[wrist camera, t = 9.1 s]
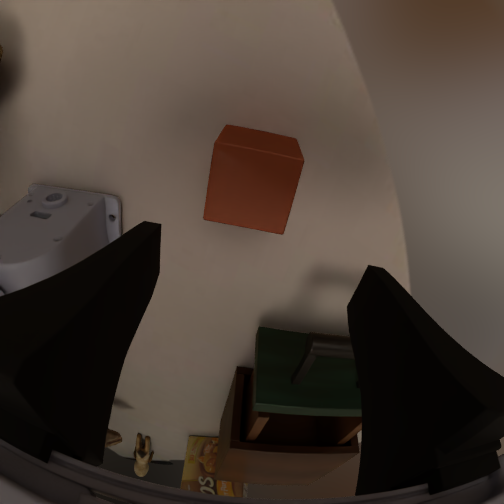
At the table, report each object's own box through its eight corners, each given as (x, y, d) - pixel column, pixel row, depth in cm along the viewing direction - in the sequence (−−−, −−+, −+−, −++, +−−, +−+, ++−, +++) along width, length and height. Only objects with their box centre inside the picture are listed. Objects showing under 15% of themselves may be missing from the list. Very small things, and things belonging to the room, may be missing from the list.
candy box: (195, 443, 42) (184, 528, 30) (187, 434, 40) (173, 525, 27) (250, 445, 41) (245, 534, 29) (246, 436, 39) (240, 533, 26)
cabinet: (236, 366, 28) (229, 448, 21) (348, 378, 29) (359, 452, 22) (220, 420, 36) (213, 479, 29) (306, 428, 37) (308, 485, 30)
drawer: (274, 277, 21) (275, 361, 15) (405, 299, 22) (433, 371, 16) (234, 399, 31) (228, 456, 25) (325, 408, 31) (330, 461, 26)
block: (225, 123, 16) (214, 141, 13) (297, 138, 16) (305, 159, 13) (214, 188, 18) (202, 220, 15) (280, 200, 19) (283, 235, 15)
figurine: (136, 422, 44) (135, 459, 49) (130, 443, 40) (131, 476, 45) (157, 428, 45) (152, 463, 50) (152, 449, 40) (149, 481, 46)
